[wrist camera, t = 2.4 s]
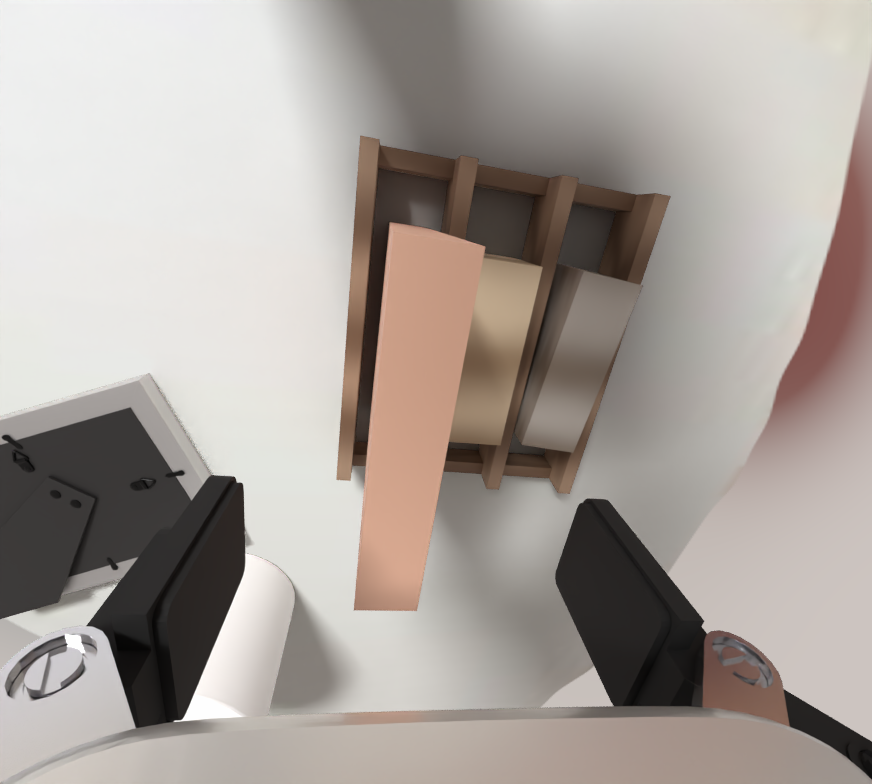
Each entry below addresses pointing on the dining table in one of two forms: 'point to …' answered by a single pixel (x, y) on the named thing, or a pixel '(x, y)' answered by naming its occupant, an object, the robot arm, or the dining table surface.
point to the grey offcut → (572, 355)
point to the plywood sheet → (412, 407)
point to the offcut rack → (542, 248)
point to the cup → (247, 647)
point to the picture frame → (88, 489)
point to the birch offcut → (494, 348)
